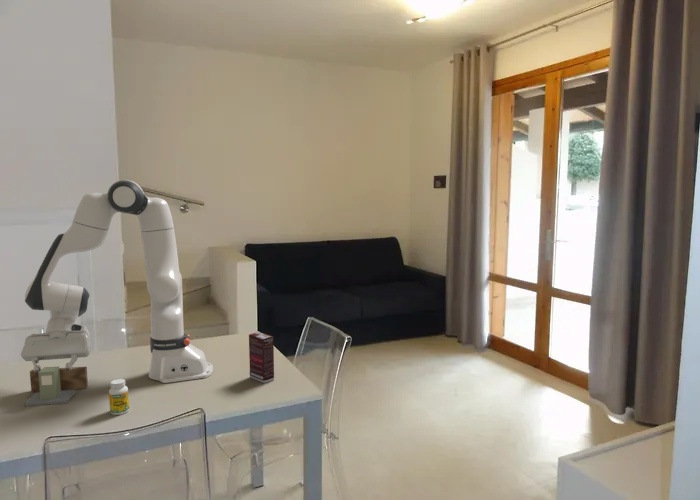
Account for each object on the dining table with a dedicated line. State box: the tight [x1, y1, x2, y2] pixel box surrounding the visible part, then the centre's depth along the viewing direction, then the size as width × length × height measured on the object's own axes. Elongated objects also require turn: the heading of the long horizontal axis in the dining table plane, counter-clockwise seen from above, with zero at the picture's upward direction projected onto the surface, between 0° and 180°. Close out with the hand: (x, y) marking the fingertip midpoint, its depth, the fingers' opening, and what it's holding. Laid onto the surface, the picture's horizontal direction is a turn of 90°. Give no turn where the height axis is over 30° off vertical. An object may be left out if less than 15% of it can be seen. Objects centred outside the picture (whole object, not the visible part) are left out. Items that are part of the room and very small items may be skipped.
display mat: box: [23, 389, 77, 407], centre depth 165 cm, size 12×9×1 cm
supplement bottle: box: [108, 378, 130, 416], centre depth 155 cm, size 5×5×10 cm
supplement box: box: [248, 331, 275, 384], centre depth 181 cm, size 9×5×16 cm, turn 47°
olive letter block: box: [38, 366, 62, 400], centre depth 164 cm, size 4×5×9 cm
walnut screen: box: [29, 366, 89, 393], centre depth 172 cm, size 17×2×7 cm, turn 101°
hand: (52, 370), depth 166 cm, fingers open, 8 cm apart
